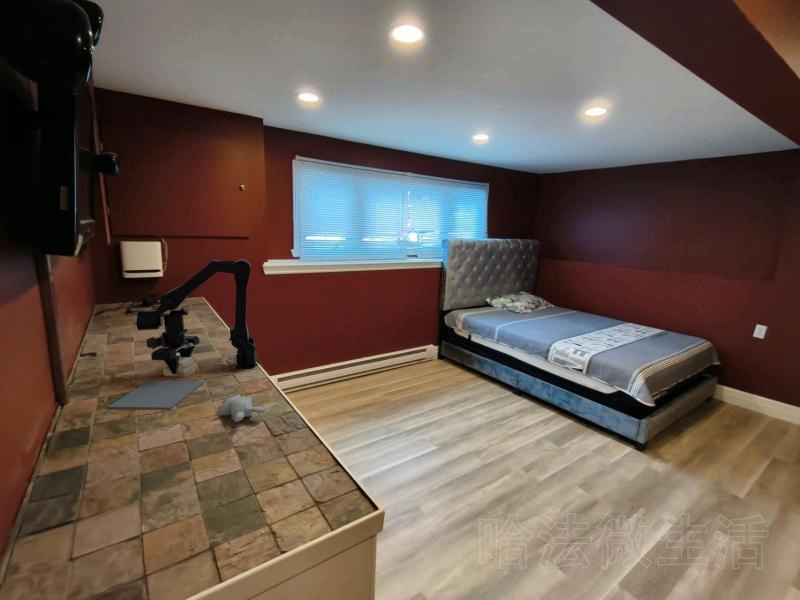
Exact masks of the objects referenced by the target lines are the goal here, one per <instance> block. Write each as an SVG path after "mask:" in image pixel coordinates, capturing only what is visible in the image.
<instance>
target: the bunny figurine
mask: <svg viewBox="0 0 800 600" xmlns="http://www.w3.org/2000/svg"><path fill="white" fill-rule="evenodd" d="M253 405H254V398H253V396H241V395H240V394H237V395H233V396H230V397H227V398H224V399H223V400H222V404H221V405H219V406H217V407H216V408H217V414H218V416H230V417H231V419H232V420H233V421H234V422H237V423H238V422H240V421H242V420H243V419H244V418H249V417H250V416H252V415H254V414H253V413H256V414H262V413H265V412H266V411H265V409H264V407H262V406H253Z"/></svg>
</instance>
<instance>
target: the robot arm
mask: <svg viewBox="0 0 800 600" xmlns="http://www.w3.org/2000/svg"><path fill="white" fill-rule="evenodd" d="M251 270H252V265H251V263H250V262H249V261H248V260H247V259H244V258H242V259H238V260H237V261H235V260H219V259H213V260H211V261H210V262H209V264H207V265H206V266H205V267H204V268H203V269H201V270H200V271H198V272H196V274H195V275H194V276H192V277H191V278H189V279H188V280H187V281H186V282H184V283H182V284H181V285H179V286H177V287H175V288H173V289H171V290H170V291H168V292H166V293H164V294H163V295H162V296H161V297H160V299H159V304H160V305H159V306H157V308H156V309H149V310H148V309H147V310H146V309H139V310H137V314H136V315H137V316H136V321H135V325H136V329H137V331H152V330H153V331H154V330H159V329H160V327H163V326H164V331H163V332H162V333H161V335H160V336H158V337H155V336H152V337H149V338H147V339H146V347H147V348H148V349H152V350H154V351H152V353H151V354H150V357H151V361H162V362H163V361H165V363H166V364H167V365H168V367H169V369H170V371H171V372H172V374H176V372H177V367H178V362H179V357H189V358H190V357H191V358H192V355H193V351H194V349H195V348H196V346H197V345H199V344H200V337H198V336H197V335H186V333H188V328H185V322H184V316H187V315H189V313H190V311H189V310H188V309H186V308H185V307H184V306H183V307H181V309H178V308H179V307H180V306H181V304H182V303H184V301H185V300H186V299H187V298H188V297H189V296H190V294H191V293H192V292H194V291H195V290H196V289H197V288H198V287H200V286H201V285H203V283H205V282H207V280H209V279H210V278H211V277H212V276H214V275H216V273H223V274H225V273H226V274H231V275H233V277H234V282H235V321H234V325H230V328H229V335H230V336H229V340H228V341H229V342H230V344H231V346H233V348H235V349H237V350H236V354H235V358H236V366H235V369H255V367H257V365H258V364H260V362H261V361H260V360H259V359H258V348H257V347H256V340H255V339H254V338H252V337H251V336H250V335H249V329H248V323H247V309H248V308H247V304H248V301H247V300H248V283H249V280H250V276H251V275H250V274H251ZM167 311H170V312H167ZM185 335H186V336H185ZM176 351H178V352H179V353H180V355H176ZM256 362H257V363H258V364H257V363H256ZM256 364H257V365H256Z"/></svg>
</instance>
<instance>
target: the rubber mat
mask: <svg viewBox="0 0 800 600" xmlns="http://www.w3.org/2000/svg"><path fill="white" fill-rule="evenodd" d="M204 384H205V381H204V380H200V381H199V380H149V381H147V382H146V383H144V384H142V385H141V386H139V387H137V388H135V389H134V390H133V391H131V392H129V393H127V394H125V395H124V396H122V397H121V398H120V399H118V400H117V401H115V402H113V403H111V404H109V405H108V406H107V409H108V408H112V409H113V410H172V409H174V408H175V407H176V406H177V405H178V404H179V403H181V402H182V401H184V400H185V399H186V398H187V397H188V396H190V395H191V394H192V393H193V391H194V392H195V391H197V389H199V388H200V387H201V386H202V385H204ZM112 409H111V410H112Z"/></svg>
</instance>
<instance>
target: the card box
mask: <svg viewBox="0 0 800 600" xmlns="http://www.w3.org/2000/svg"><path fill="white" fill-rule="evenodd" d="M161 363H162V373H163V376H164V375H165V376H164V377H166V376H167V377H179V378H180V377H182V378H185V377H187V376H189V375H191V374H193V373H195V372H196V364H195V363H196V362H195V357H191V358H189V357H179V362H178V367H177V372H176V374H172V372H171V371H170V369H169V367H168V365H167V364H166V363H165V361H163V360H162V362H161ZM192 372H193V373H192Z"/></svg>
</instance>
